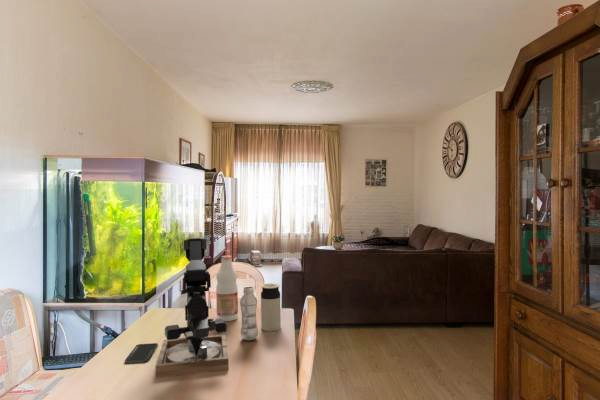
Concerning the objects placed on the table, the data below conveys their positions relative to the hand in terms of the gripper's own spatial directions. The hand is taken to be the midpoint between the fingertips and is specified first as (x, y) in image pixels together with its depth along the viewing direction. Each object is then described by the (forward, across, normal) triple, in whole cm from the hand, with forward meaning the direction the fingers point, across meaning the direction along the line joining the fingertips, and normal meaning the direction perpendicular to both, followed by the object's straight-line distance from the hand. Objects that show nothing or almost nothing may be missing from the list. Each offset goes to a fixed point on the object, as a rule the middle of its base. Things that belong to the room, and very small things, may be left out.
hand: (195, 355), depth 127 cm
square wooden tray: (+4, +1, +8) cm, 9 cm away
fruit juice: (+3, +24, +44) cm, 50 cm away
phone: (+5, -14, +21) cm, 26 cm away
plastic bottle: (+4, +24, +15) cm, 28 cm away
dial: (+2, +1, +8) cm, 8 cm away
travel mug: (+3, +36, +23) cm, 43 cm away
